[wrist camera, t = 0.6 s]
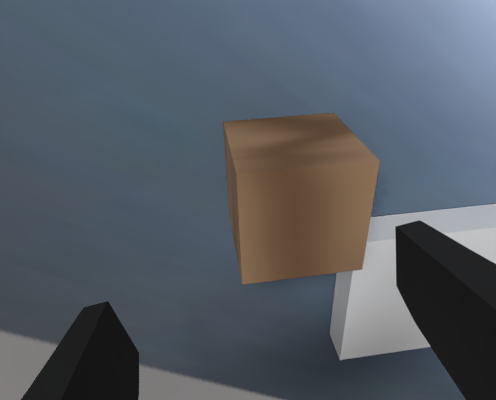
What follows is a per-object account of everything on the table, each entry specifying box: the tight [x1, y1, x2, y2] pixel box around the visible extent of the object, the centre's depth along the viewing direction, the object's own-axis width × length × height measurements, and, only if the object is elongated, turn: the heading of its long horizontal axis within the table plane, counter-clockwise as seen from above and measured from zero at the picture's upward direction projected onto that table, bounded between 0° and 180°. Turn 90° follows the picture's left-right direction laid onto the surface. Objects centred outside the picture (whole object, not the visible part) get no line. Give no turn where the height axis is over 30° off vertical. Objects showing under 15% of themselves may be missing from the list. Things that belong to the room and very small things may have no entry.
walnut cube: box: [223, 113, 380, 285], centre depth 17 cm, size 5×5×5 cm
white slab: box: [330, 204, 496, 360], centre depth 23 cm, size 9×9×2 cm
